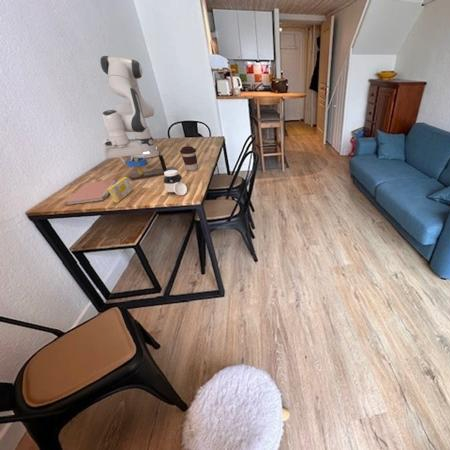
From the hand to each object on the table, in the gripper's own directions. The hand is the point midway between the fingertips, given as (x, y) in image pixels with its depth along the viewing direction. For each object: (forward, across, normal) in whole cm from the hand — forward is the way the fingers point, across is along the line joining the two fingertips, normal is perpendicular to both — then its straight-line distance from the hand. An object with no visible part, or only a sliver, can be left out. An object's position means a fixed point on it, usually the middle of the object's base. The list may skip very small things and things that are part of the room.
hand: (128, 163), depth 155 cm
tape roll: (+2, -5, 0) cm, 5 cm away
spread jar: (+10, -20, +41) cm, 47 cm away
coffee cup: (+10, -36, +4) cm, 37 cm away
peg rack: (+9, -12, 0) cm, 15 cm away
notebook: (+10, +20, +16) cm, 27 cm away
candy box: (+10, +6, +30) cm, 32 cm away
